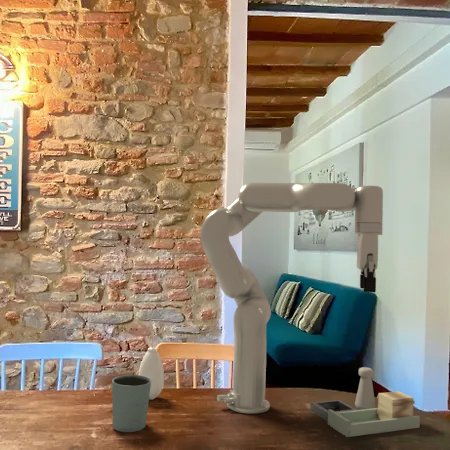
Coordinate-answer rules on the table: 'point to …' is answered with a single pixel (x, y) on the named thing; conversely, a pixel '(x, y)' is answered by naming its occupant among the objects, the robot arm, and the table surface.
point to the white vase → (153, 371)
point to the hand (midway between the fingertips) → (367, 290)
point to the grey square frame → (329, 407)
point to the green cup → (130, 402)
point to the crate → (394, 405)
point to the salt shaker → (365, 390)
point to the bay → (368, 422)
